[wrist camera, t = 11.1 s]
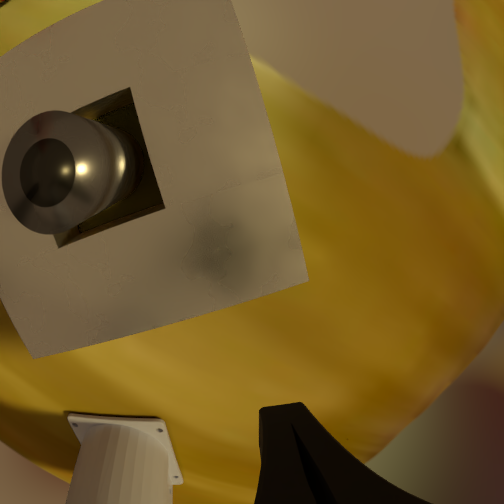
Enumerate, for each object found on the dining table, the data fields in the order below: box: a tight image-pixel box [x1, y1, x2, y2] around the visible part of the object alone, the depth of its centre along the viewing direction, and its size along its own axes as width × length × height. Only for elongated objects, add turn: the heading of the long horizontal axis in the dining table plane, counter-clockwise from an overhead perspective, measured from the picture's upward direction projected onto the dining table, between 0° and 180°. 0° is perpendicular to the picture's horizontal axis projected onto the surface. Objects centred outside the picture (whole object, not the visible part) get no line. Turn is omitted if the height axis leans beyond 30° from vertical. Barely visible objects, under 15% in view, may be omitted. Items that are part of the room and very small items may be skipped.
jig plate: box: [0, 0, 309, 359], centre depth 13 cm, size 16×16×3 cm
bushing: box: [2, 110, 144, 235], centre depth 11 cm, size 4×4×7 cm
